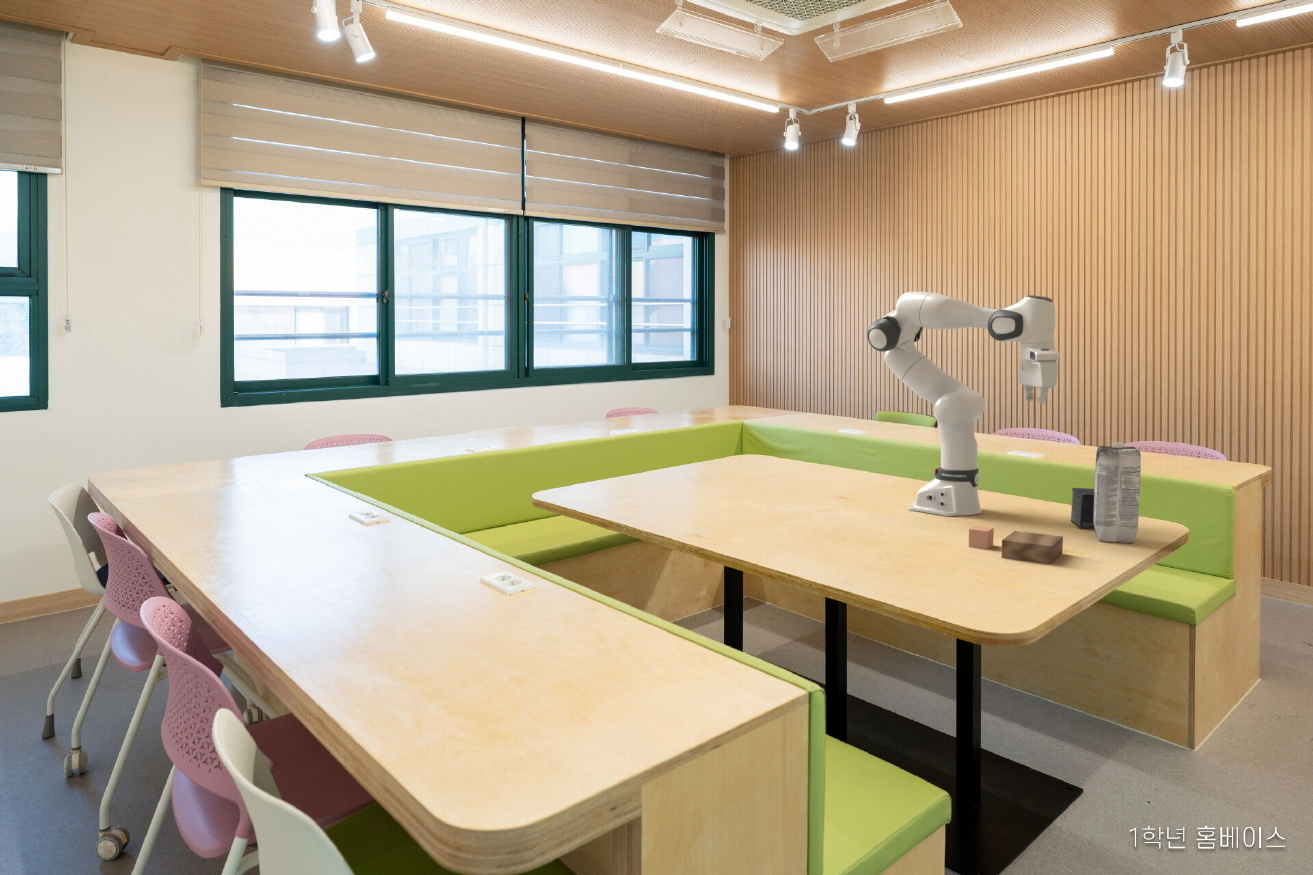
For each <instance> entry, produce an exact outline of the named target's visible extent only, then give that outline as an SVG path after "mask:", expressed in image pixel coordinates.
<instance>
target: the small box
mask: <svg viewBox="0 0 1313 875" xmlns="http://www.w3.org/2000/svg"><path fill="white" fill-rule="evenodd" d="M1094 491H1095V488H1086V487H1085V488H1084V487H1083V488H1081V487H1072V488H1071V493H1072V494H1071V498H1072V499H1071V511H1070V512H1071V514H1070V522H1071V523H1072V524H1073V525H1074V526H1075V527H1077V528H1078V529H1079V530H1095V528H1094V522H1093V518H1094Z"/></svg>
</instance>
